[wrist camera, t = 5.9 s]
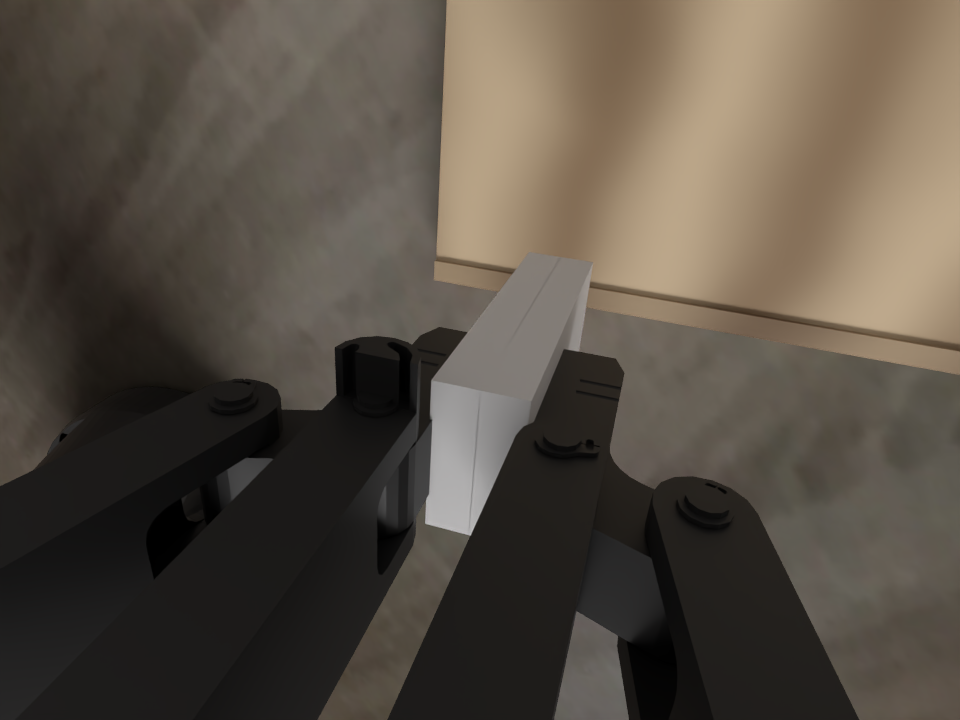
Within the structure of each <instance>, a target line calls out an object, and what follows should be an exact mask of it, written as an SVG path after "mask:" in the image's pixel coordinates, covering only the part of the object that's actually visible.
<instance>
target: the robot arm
mask: <svg viewBox="0 0 960 720" xmlns="http://www.w3.org/2000/svg"><path fill="white" fill-rule="evenodd" d="M592 267H593V262H588V261H582V260H576V259H570V258H563V257H557V256H551V255H544V254H538V253H532V252H529V253H528V254H527V256H526V257H525V258H524V260H523V261H522V262H521V263H520V265H519V266H518V267H517V269H516V270H515V271H514V273H513V274H512V275H511V277H510V278H509V279H508V280H507V282H506V283H505V284H504V286H503V287H502V288H501V290H500V291H499V292H498V294H497V295H496V296H495V297H494V299H493V300H492V301H491V303H490V304H489V305H488V307H487V308H486V309H485V311H484V312H483V313H482V314H481V316H480V317H479V318H478V320H477V321H476V322H475V324H474V325H473V326H472V328H471V329H470V330H469V331H468V332H463V331H457V330H452V329H447V328H442V327H439V328H436V329H434V330H432V331H430V332H427V333H425V334H423V335H421V336H420V337H419V338H418V339H417V340H416V341H415V342H414V343H413V344H412V345H411V344H409V343H408V342H405V341H402V340H399V339H395V338H389V337H380V336H374V337H360V338H356V339H353V340H349V341H345V342H344V343H342V344H340V345H338V346H337V347H335V366H336V393H337V395H336V396H335V397H334V398H333V399H332V400H331V401H330V402H329V403H328V404H327V405H326V406H325V407H324V408H323V409H322V410H282V409H281V398H280V395H279V393H278V390H277V389H275V388H274V387H272V386H271V385H269V384H268V383H264V382H260V381H256V380H250V379H245V380H243V379H233V380H230V381H224V382H219V383H216V384H213V385H210V386H207V387H204V388H202V389H200V390H198V391H196V392H194V393H192V394H188V393H185V392H181V391H177V390H172V389H167V388H160V387H139V388H132V389H128V390H124V391H121V392H118V393H116V394H114V395H112V396H110V397H108V398H107V399H105V400H104V401H102V402H100V403H99V404H97V405H95V406H94V407H92V408H90V409H89V410H87V411H86V412H84V413H82V414H81V415H79V416H78V417H76V418H75V419H74V420H72V421H71V422H70V423H69V424H68V425H67V426H66V427H65V428H64V429H63V430H62V431H61V432H60V434H59V435H58V436H57V438H56V439H55V440H54V441H53V443H52V445H51V447H50V449H49V451H48V453H47V456H46V457H45V458H44V459H43V460H42V461H41V463H40V464H39V465H38V466H37V467H36V468H35V469H34V470H33V471H31V472H29V473H27V474H25V475H23V476H21V477H19V478H17V479H14V480H12V481H10V482H8V483H6V484H4V485H2V486H0V720H317V719H318V717H319V716H320V714H321V712H322V710H323V708H324V706H325V705H326V703H327V701H328V699H329V697H330V696H331V694H332V692H333V690H334V688H335V686H336V685H337V683H338V681H339V679H340V677H341V675H342V674H343V672H344V670H345V668H346V666H347V664H348V663H349V661H350V659H351V657H352V655H353V654H354V652H355V650H356V648H357V646H358V644H359V643H360V641H361V639H362V637H363V635H364V633H365V632H366V630H367V628H368V626H369V624H370V622H371V621H372V619H373V617H374V615H375V613H376V612H377V610H378V608H379V606H380V604H381V602H382V601H383V599H384V597H385V595H386V593H387V591H388V590H389V588H390V586H391V584H392V582H393V580H394V579H395V577H396V575H397V573H398V571H399V570H400V568H401V566H402V564H403V562H404V560H405V559H406V557H407V555H408V553H409V551H410V549H411V548H412V546H413V542H414V538H415V532H416V516H417V514H418V512H419V511H420V509H421V507H422V505H423V504H424V502H425V500H426V521H425V524H429V525H432V526H436V527H440V528H444V529H448V530H451V531H455V532H459V533H463V534H467V535H470V538H469V540H468V542H467V545H466V547H465V549H464V551H463V554H462V556H461V558H460V560H459V562H458V565H457V567H456V569H455V571H454V573H453V576H452V578H451V580H450V582H449V585H448V587H447V589H446V591H445V593H444V596H443V598H442V600H441V602H440V605H439V607H438V609H437V611H436V613H435V616H434V618H433V620H432V622H431V624H430V627H429V629H428V631H427V633H426V636H425V638H424V640H423V642H422V644H421V647H420V649H419V651H418V653H417V655H416V658H415V660H414V662H413V664H412V667H411V669H410V671H409V673H408V675H407V678H406V680H405V682H404V684H403V687H402V689H401V691H400V693H399V695H398V698H397V700H396V702H395V704H394V706H393V709H392V711H391V713H390V715H389V718H388V720H554V716H555V711H556V707H557V702H558V697H559V692H560V687H561V682H562V678H563V673H564V668H565V663H566V658H567V653H568V649H569V644H570V639H571V634H572V629H573V626H574V621H575V616H576V611H578V612H579V613H581V614H583V615H584V616H586V617H588V618H590V619H591V620H593V621H595V622H596V623H598V624H600V625H601V626H603V627H605V628H606V629H608V630H610V631H611V632H613V633H615V634H616V635H618V644H617V647H618V654H619V660H620V666H621V672H622V678H623V684H624V691H625V697H626V703H627V709H628V715H629V720H859V718H858V716H857V714H856V712H855V710H854V708H853V706H852V704H851V702H850V700H849V698H848V696H847V694H846V692H845V690H844V688H843V686H842V684H841V682H840V680H839V678H838V676H837V674H836V672H835V670H834V668H833V666H832V664H831V662H830V660H829V658H828V655H827V653H826V651H825V649H824V647H823V645H822V643H821V641H820V639H819V637H818V635H817V633H816V631H815V629H814V627H813V625H812V623H811V621H810V619H809V617H808V615H807V613H806V611H805V609H804V607H803V605H802V603H801V601H800V599H799V597H798V595H797V593H796V591H795V589H794V586H793V584H792V582H791V580H790V578H789V576H788V574H787V572H786V570H785V568H784V566H783V564H782V562H781V560H780V558H779V556H778V554H777V552H776V550H775V548H774V546H773V544H772V542H771V540H770V538H769V536H768V534H767V532H766V530H765V528H764V526H763V524H762V522H761V520H760V517H759V515H758V513H757V512H756V511H755V510H754V508H753V507H752V506H751V504H750V503H749V502H748V500H746V499H745V498H744V497H742V496H741V495H739V494H738V493H737V492H735V491H734V490H732V489H731V488H729V487H726V486H724V485H722V484H719V483H717V482H715V481H712V480H707V479H703V478H698V477H693V476H692V477H674V478H671V479H668V480H666V481H663V482H661V483H660V484H659V485H658V486H657V488H656V489H655V490H654V489H652V488H650V487H648V486H645V485H643V484H641V483H640V482H638V481H636V480H634V479H632V478H630V477H629V476H628V475H627V474H625V473H624V472H623V471H622V470H620V468H619V467H618V466H617V465H616V464H615V462H614V461H613V459H612V457H611V454H610V443H611V438H612V433H613V428H614V422H615V417H616V412H617V407H618V402H619V397H620V392H621V387H622V382H623V377H624V372H623V370H622V368H621V367H620V365H619V363H618V362H617V360H616V359H614V358H609V357H604V356H598V355H593V354H588V353H583V352H579V348H580V342H581V336H582V329H583V323H584V317H585V311H586V304H587V298H588V292H589V285H590V279H591V273H592Z"/></svg>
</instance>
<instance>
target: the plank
mask: <svg viewBox="0 0 960 720" xmlns="http://www.w3.org/2000/svg"><path fill="white" fill-rule="evenodd" d="M529 252H532V253H538V254H544V255H551V256H557V257H563V258H570V259H576V260H582V261H588V262H593V267H592V273H591V279H590V285H589V292H588V298H587V304H586V307H587V308H592V309H598V310H603V311H609V312H614V313H620V314H626V315H631V316H637V317H642V318H648V319H653V320H659V321H664V322H670V323H676V324H681V325H687V326H692V327H698V328H703V329H709V330H714V331H720V332H726V333H731V334H737V335H742V336H748V337H753V338H759V339H764V340H770V341H776V342H781V343H787V344H792V345H798V346H803V347H809V348H814V349H820V350H825V351H831V352H837V353H842V354H848V355H853V356H859V357H864V358H870V359H875V360H881V361H887V362H892V363H898V364H903V365H909V366H914V367H920V368H925V369H931V370H937V371H942V372H948V373H953V374H959V375H960V0H447V11H446V35H445V60H444V85H443V109H442V134H441V158H440V183H439V207H438V232H437V257H436V260H435V267H434V280H437V281H442V282H448V283H453V284H459V285H464V286H470V287H476V288H481V289H487V290H492V291H498V292H499V291H500V290H501V288H502V287H503V286H504V284H505V283H506V282H507V280H508V279H509V278H510V277H511V275H512V274H513V273H514V271H515V270H516V269H517V267H518V266H519V265H520V263H521V262H522V261H523V260H524V258H525V257H526V256H527V254H528V253H529Z"/></svg>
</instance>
